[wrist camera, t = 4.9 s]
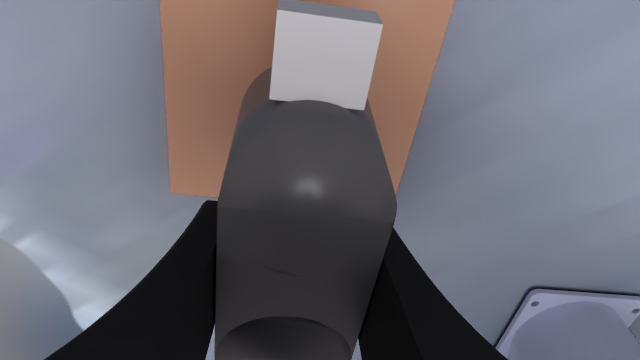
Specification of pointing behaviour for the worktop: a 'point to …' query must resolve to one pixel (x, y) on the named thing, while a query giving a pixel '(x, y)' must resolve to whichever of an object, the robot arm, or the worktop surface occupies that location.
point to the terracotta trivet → (257, 56)
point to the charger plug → (304, 194)
